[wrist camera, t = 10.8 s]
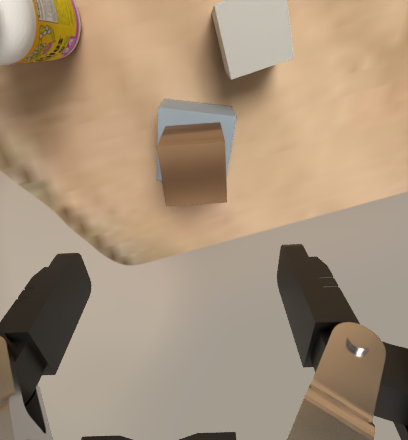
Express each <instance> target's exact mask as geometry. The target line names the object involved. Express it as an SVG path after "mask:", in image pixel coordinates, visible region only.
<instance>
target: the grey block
mask: <svg viewBox="0 0 408 440" xmlns="http://www.w3.org/2000/svg"><path fill="white" fill-rule="evenodd" d="M212 17H213V21H214V25H215V30H216V34H217V38H218V42H219V47H220V51H221V55H222V59H223V64H224V68H225V72H226V74H227V75H228V76H229V77H230V79H231V80H232V79H235V78H238V77H241V76H244V75H247V74H250V73H253V72H255V71H258V70H261V69H264V68H267V67H270V66H273V65H276V64H279V63H282V62H285V61H288V60H291V59H294V55H293V46H292V37H291V29H290V20H289V12H288V3H287V0H225V1H222V2H220V3H217V4H215V5H214V7H213V10H212Z"/></svg>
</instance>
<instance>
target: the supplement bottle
mask: <svg viewBox="0 0 408 440" xmlns="http://www.w3.org/2000/svg"><path fill="white" fill-rule="evenodd" d="M80 32H81V21H80V15H79V11H78V8H77V5H76V3H75V1H74V0H0V66H1V65H11V64H21V63H31V62H41V61H51V60H57V59H61V58H64V57H66V56H67V55H69V54H70V53H71V52H72V51H73V50H74V49H75V47H76V45H77V43H78V41H79V38H80Z"/></svg>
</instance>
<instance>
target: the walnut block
mask: <svg viewBox="0 0 408 440" xmlns="http://www.w3.org/2000/svg"><path fill="white" fill-rule="evenodd" d="M157 152H158V158H159V164H160V170H161V177H162V183H163V189H164V195H165V201H166V206H178V205H194V204H209V203H224V202H227V189H226V153H225V139H224V135H223V131H222V127H221V123H220V122H215V123H202V124H188V125H174V126H165V128H164V131H163V133H162V135H161V138H160V140H159V142H158V145H157Z"/></svg>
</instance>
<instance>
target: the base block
mask: <svg viewBox="0 0 408 440" xmlns="http://www.w3.org/2000/svg"><path fill="white" fill-rule="evenodd" d="M236 117H237V116H236V114H235V112H234V110H233V108H232V106H223V105H215V104H206V103H198V102H189V101H181V100H172V99H164V100H163V101H162V103H161V104H160V106H159V107H158V142H159V140H160V138H161V135H162V133H163V131H164V128H165V126H174V125H188V124H202V123H215V122H220V123H221V127H222V131H223V135H224V139H225V153H226V177H227V171H228V165H229V159H230V153H231V147H232V141H233V135H234V129H235V123H236ZM157 145H158V143H157ZM157 180H159V181H162V177H161V170H160V164H159V158H158V152H157Z"/></svg>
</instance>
